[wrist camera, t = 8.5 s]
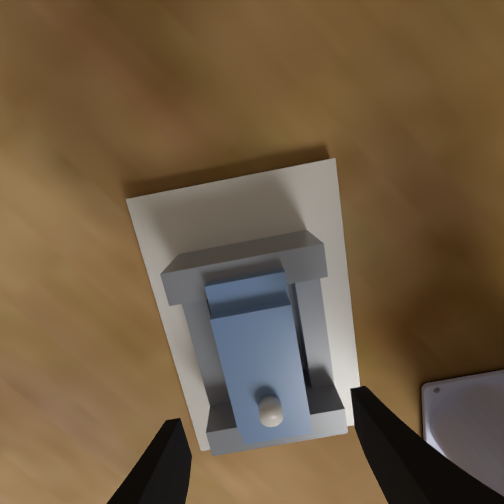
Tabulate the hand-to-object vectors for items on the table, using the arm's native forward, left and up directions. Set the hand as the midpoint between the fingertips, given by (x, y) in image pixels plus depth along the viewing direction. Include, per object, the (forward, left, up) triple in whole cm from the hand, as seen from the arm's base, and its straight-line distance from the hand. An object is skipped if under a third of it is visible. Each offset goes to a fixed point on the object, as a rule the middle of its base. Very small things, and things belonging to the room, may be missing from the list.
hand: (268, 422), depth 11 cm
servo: (0, 0, -8) cm, 8 cm away
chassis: (0, 0, -9) cm, 9 cm away
